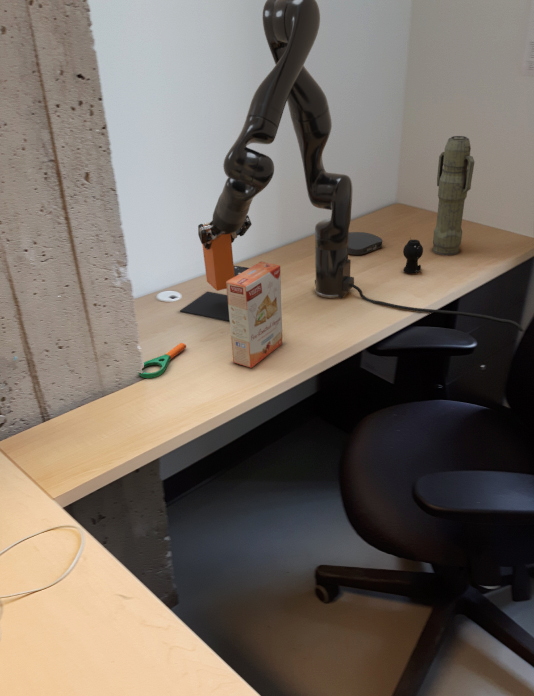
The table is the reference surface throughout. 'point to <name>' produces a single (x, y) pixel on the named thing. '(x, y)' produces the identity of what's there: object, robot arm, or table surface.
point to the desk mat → (209, 306)
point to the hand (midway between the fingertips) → (217, 244)
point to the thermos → (452, 194)
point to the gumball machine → (412, 256)
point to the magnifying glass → (162, 361)
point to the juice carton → (219, 262)
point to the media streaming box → (363, 243)
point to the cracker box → (255, 313)
